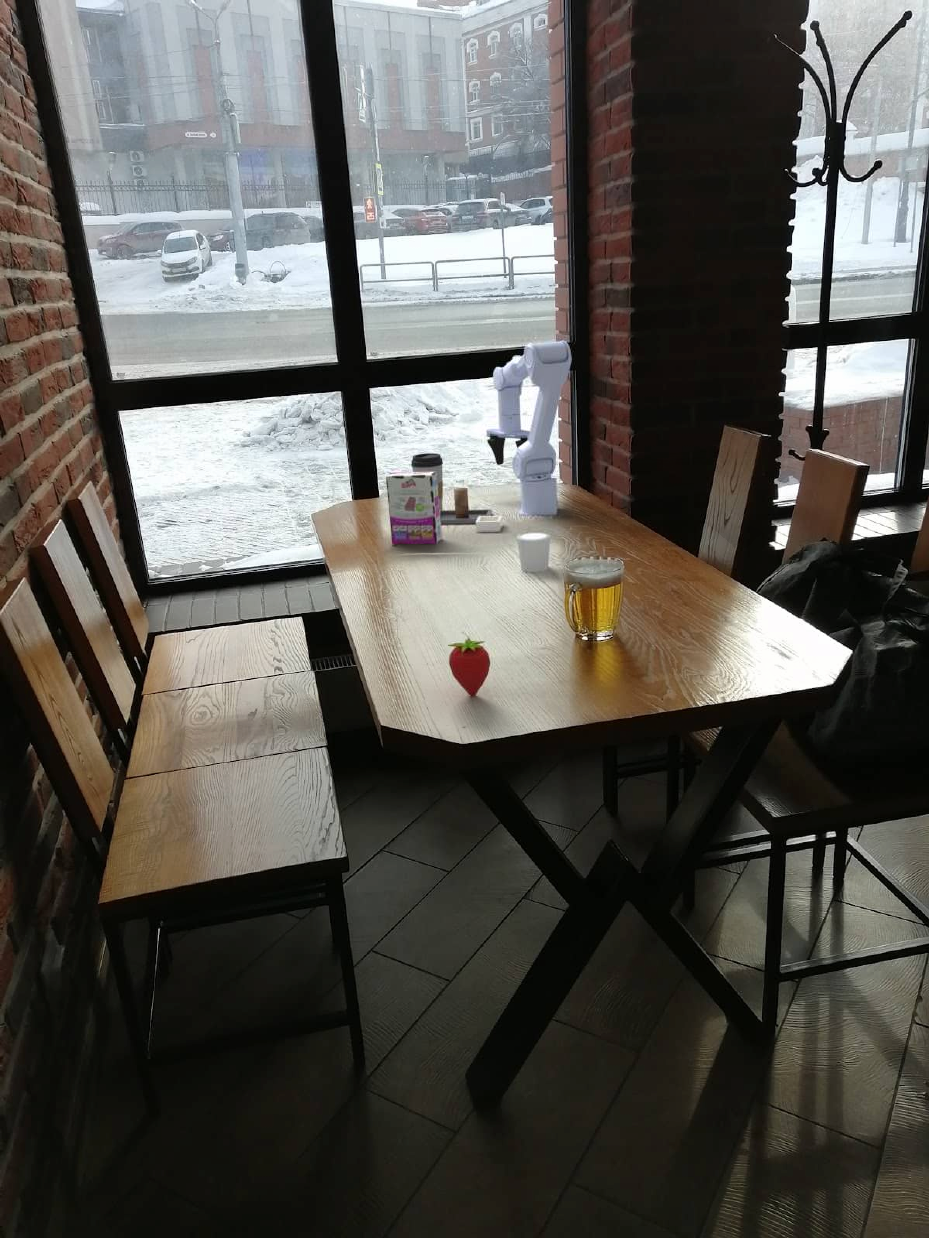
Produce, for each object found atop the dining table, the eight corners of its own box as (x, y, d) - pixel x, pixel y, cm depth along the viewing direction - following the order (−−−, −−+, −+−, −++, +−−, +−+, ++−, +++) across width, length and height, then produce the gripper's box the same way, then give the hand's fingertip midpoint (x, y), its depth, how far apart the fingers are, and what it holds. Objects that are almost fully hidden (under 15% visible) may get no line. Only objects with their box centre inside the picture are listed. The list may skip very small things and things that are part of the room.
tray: (492, 515, 239) (491, 509, 238) (487, 525, 230) (487, 518, 229) (438, 516, 241) (438, 510, 241) (432, 526, 232) (431, 520, 231)
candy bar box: (442, 540, 219) (438, 470, 213) (437, 545, 214) (432, 475, 209) (397, 539, 222) (391, 471, 216) (391, 545, 217) (385, 475, 212)
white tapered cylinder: (549, 573, 189) (548, 540, 187) (515, 573, 191) (514, 540, 188) (552, 563, 196) (552, 531, 193) (520, 563, 197) (519, 531, 195)
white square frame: (502, 526, 227) (502, 515, 226) (500, 533, 222) (499, 521, 221) (479, 527, 228) (478, 516, 227) (476, 533, 223) (475, 522, 222)
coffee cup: (410, 515, 244) (405, 458, 239) (420, 508, 251) (416, 452, 246) (440, 516, 241) (436, 458, 236) (450, 508, 249) (446, 452, 244)
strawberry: (455, 709, 132) (451, 643, 128) (447, 688, 139) (443, 625, 135) (496, 703, 132) (493, 638, 129) (486, 683, 139) (483, 620, 136)
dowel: (469, 516, 236) (467, 487, 234) (468, 520, 233) (466, 490, 231) (456, 517, 237) (454, 488, 234) (455, 520, 234) (453, 491, 231)
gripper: (478, 415, 246) (480, 466, 251) (522, 417, 237) (524, 470, 242) (494, 411, 251) (497, 461, 256) (538, 413, 242) (540, 465, 247)
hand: (511, 465), depth 249 cm, fingers open, 7 cm apart
